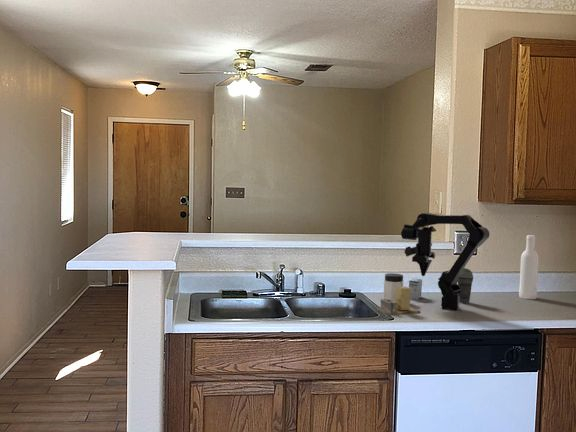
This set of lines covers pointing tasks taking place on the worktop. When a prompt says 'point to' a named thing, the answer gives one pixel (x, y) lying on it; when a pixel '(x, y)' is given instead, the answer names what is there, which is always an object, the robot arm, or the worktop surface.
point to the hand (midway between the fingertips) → (423, 276)
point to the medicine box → (415, 288)
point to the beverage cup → (465, 285)
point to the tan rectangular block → (403, 298)
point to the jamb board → (394, 308)
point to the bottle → (529, 270)
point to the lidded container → (392, 285)
